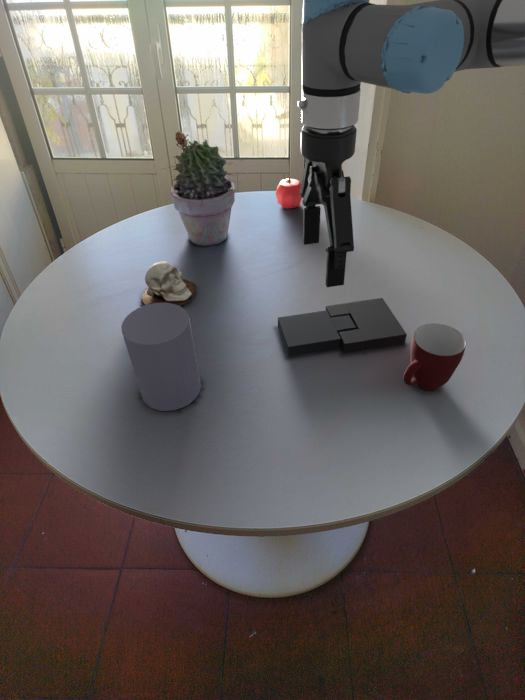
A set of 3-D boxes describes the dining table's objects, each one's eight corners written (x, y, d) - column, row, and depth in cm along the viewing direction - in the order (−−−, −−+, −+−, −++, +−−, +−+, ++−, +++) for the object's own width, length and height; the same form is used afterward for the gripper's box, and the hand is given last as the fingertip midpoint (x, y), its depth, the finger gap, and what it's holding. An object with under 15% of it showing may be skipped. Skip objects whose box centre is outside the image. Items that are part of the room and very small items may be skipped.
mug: (425, 416, 76) (439, 372, 69) (384, 389, 80) (393, 346, 73) (460, 383, 81) (476, 339, 74) (420, 360, 85) (431, 316, 78)
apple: (306, 209, 132) (306, 182, 127) (278, 212, 131) (277, 184, 126) (300, 198, 138) (301, 171, 133) (273, 200, 137) (273, 173, 132)
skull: (211, 284, 104) (185, 269, 95) (190, 326, 104) (162, 315, 95) (172, 266, 109) (144, 250, 100) (153, 306, 109) (123, 294, 100)
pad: (359, 345, 89) (360, 335, 87) (288, 357, 87) (288, 347, 85) (343, 317, 95) (344, 307, 94) (277, 327, 94) (277, 317, 92)
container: (213, 389, 82) (202, 322, 71) (163, 422, 76) (145, 354, 66) (178, 361, 87) (164, 294, 77) (130, 389, 82) (108, 323, 72)
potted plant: (234, 259, 114) (226, 154, 97) (162, 249, 118) (142, 147, 102) (258, 225, 126) (253, 127, 110) (191, 217, 131) (178, 122, 114)
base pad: (404, 344, 89) (406, 334, 87) (343, 354, 87) (344, 344, 85) (380, 307, 97) (382, 297, 96) (325, 315, 96) (325, 305, 94)
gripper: (281, 104, 72) (283, 230, 86) (329, 160, 53) (321, 309, 67) (328, 99, 73) (322, 225, 87) (391, 152, 54) (371, 302, 68)
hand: (322, 262), depth 77 cm, fingers open, 13 cm apart
